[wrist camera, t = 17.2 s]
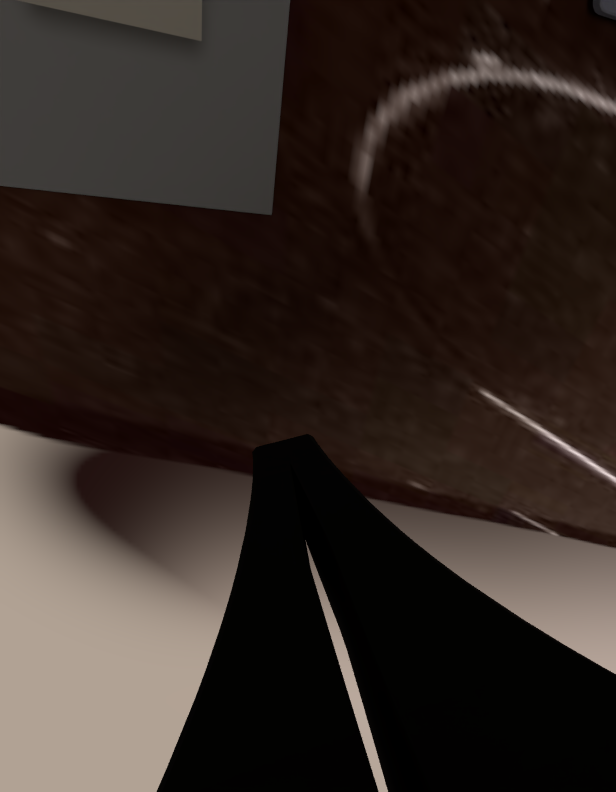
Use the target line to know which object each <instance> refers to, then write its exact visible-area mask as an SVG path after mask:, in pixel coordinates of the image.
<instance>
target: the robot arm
mask: <svg viewBox="0 0 616 792" xmlns="http://www.w3.org/2000/svg"><path fill="white" fill-rule="evenodd" d="M593 8H594V11H595V12H596V13H597V14H598V15H601V16H604V17H608V18H611V19H614V20H616V0H593ZM252 453H253V483H252V493H251V501H250V507H249V513H248V520H247V526H246V532H245V536H244V541H243V545H242V550H241V554H240V558H239V563H238V568H237V571H236V575H235V579H234V583H233V587H232V591H231V594H230V597H229V601H228V604H227V607H226V611H225V614H224V617H223V621H222V624H221V627H220V630H219V633H218V636H217V639H216V642H215V645H214V647H213V650H212V654H211V656H210V659H209V662H208V665H207V668H206V671H205V673H204V676H203V679H202V682H201V685H200V687H199V690H198V692H197V695H196V698H195V700H194V703H193V705H192V708H191V710H190V712H189V715H188V717H187V720H186V722H185V725H184V727H183V730H182V732H181V735H180V737H179V740H178V742H177V744H176V747H175V749H174V752H173V754H172V757H171V759H170V762H169V764H168V767H167V769H166V771H165V774H164V776H163V778H162V780H161V783H160V785H159V788H158V790H157V792H378V789H377V785H376V782H375V779H374V776H373V772H372V769H371V766H370V763H369V760H368V756H367V753H366V750H365V747H364V744H363V741H362V737H361V734H360V731H359V728H358V724H357V721H356V718H355V714H354V711H353V708H352V705H351V701H350V698H349V695H348V691H347V688H346V685H345V682H344V678H343V675H342V672H341V669H340V665H339V662H338V659H337V655H336V653H335V649H334V646H333V642H332V639H331V636H330V632H329V629H328V626H327V622H326V619H325V616H324V612H323V609H322V606H321V602H320V599H319V595H318V592H317V589H316V585H315V582H314V579H313V575H312V572H311V568H310V563H309V557H308V553H307V547H306V542H307V545H308V548H309V550H310V553H311V555H312V558H313V561H314V563H315V566H316V568H317V571H318V574H319V576H320V579H321V581H322V584H323V587H324V589H325V592H326V594H327V597H328V600H329V602H330V605H331V607H332V610H333V613H334V615H335V618H336V620H337V623H338V626H339V628H340V631H341V634H342V637H343V640H344V643H345V645H346V648H347V651H348V655H349V658H350V661H351V665H352V668H353V672H354V675H355V678H356V682H357V685H358V688H359V692H360V696H361V699H362V702H363V706H364V709H365V713H366V716H367V720H368V723H369V727H370V730H371V733H372V737H373V740H374V744H375V747H376V751H377V754H378V758H379V761H380V765H381V768H382V772H383V775H384V779H385V782H386V786H387V789H388V792H616V674H614V673H612V672H611V671H609V670H607V669H605V668H603V667H602V666H600V665H598V664H596V663H595V662H593V661H591V660H590V659H588V658H586V657H584V656H583V655H581V654H579V653H577V652H576V651H574V650H572V649H571V648H569V647H567V646H565V645H564V644H562V643H560V642H559V641H557V640H556V639H554V638H552V637H551V636H549V635H547V634H546V633H544V632H543V631H541V630H539V629H538V628H536V627H534V626H533V625H531V624H530V623H528V622H526V621H525V620H523V619H521V618H520V617H519V616H517V615H516V614H514V613H512V612H511V611H509V610H508V609H507V608H505V607H504V606H502V605H501V604H499V603H498V602H496V601H494V600H493V599H492V598H490V597H488V596H487V595H486V594H484V593H483V592H481V591H480V590H478V589H477V588H475V587H474V586H472V585H471V584H469V583H468V582H466V581H465V580H464V579H462V578H461V577H459V576H458V575H457V574H455V573H454V572H453V571H451V570H450V569H449V568H447V567H446V566H445V565H443V564H442V563H441V562H439V561H438V560H437V559H435V558H434V557H433V556H431V555H430V554H429V553H428V552H427V551H425V550H424V549H423V548H421V547H420V546H419V545H418V544H416V543H415V542H414V541H413V540H412V539H410V538H409V537H408V536H407V535H406V534H405V533H403V532H402V531H401V530H400V529H399V528H398V527H396V526H395V525H394V524H393V523H392V522H391V521H390V520H389V519H387V518H386V517H385V516H384V515H383V514H382V513H381V512H380V511H379V510H378V509H377V508H375V507H374V506H373V505H372V504H371V503H370V502H369V501H368V500H367V499H366V498H365V497H364V496H363V495H362V494H361V493H360V492H359V491H358V490H357V489H356V488H355V486H354V485H353V484H352V483H351V482H350V481H349V480H348V479H347V478H346V477H345V476H344V475H343V474H342V473H341V472H340V470H339V469H338V468H337V467H336V466H335V465H334V464H333V462H332V461H331V460H330V459H329V458H328V456H327V455H326V454H325V453H324V451H323V450H322V449H321V448H320V446H319V445H318V444H317V442H316V441H315V439H314V438H313V437H312V436H311V435H309V434H306V435H302V436H298V437H294V438H290V439H286V440H282V441H279V442H275V443H271V444H267V445H263V446H259V447H256V448H255V450H254V451H253V452H252ZM305 540H306V541H305Z"/></svg>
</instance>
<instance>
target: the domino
mask: <svg viewBox="0 0 616 792" xmlns="http://www.w3.org/2000/svg"><path fill="white" fill-rule="evenodd" d="M18 1H22V2H27V3H31V4H36V5H40V6H45V7H49V8H54V9H58V10H63V11H67V12H72V13H76V14H81V15H85V16H90V17H95V18H99V19H104V20H108V21H113V22H117V23H122V24H126V25H131V26H135V27H140V28H144V29H149V30H153V31H158V32H162V33H167V34H171V35H176V36H180V37H185V38H189V39H194V40H198V41H202V0H18Z"/></svg>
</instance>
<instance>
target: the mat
mask: <svg viewBox="0 0 616 792" xmlns="http://www.w3.org/2000/svg"><path fill="white" fill-rule="evenodd" d="M289 6H290V0H202V41H198V40H194V39H189V38H185V37H180V36H176V35H171V34H167V33H162V32H158V31H153V30H149V29H144V28H140V27H135V26H131V25H126V24H122V23H117V22H113V21H108V20H104V19H99V18H95V17H90V16H85V15H81V14H76V13H72V12H67V11H63V10H58V9H54V8H49V7H45V6H40V5H36V4H31V3H27V2H22V1H18V0H0V186H8V187H18V188H27V189H36V190H45V191H55V192H64V193H73V194H82V195H91V196H101V197H110V198H119V199H128V200H138V201H147V202H156V203H165V204H175V205H184V206H193V207H202V208H211V209H221V210H230V211H239V212H248V213H258V214H267V215H272V205H273V193H274V182H275V170H276V158H277V147H278V135H279V123H280V111H281V100H282V88H283V76H284V65H285V53H286V41H287V29H288V18H289Z"/></svg>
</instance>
